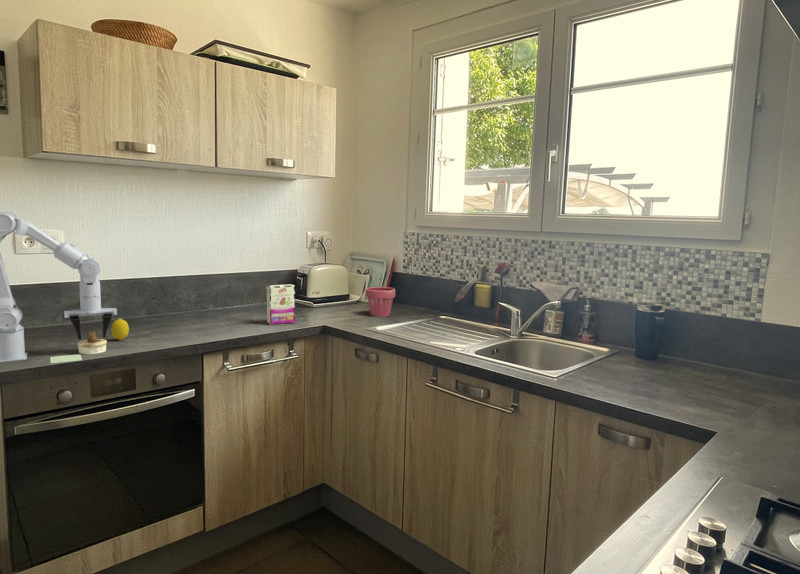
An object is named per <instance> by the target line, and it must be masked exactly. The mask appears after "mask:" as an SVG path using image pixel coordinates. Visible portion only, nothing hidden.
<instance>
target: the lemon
mask: <svg viewBox="0 0 800 574" xmlns="http://www.w3.org/2000/svg"><path fill="white" fill-rule="evenodd" d="M110 331H111V335H112V337H113V338H115V339H116V340H118V341H122V340H123V339H125V338H127V336H128V335H129V331H130V328H129V324H128V322H127V321H126V320H125V319H122V318H118V319H116V320H114V321H113V322H112V324H111V329H110Z"/></svg>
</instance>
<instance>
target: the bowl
mask: <svg viewBox="0 0 800 574" xmlns="http://www.w3.org/2000/svg"><path fill="white" fill-rule="evenodd" d="M106 351H107V344H105V345H102V346H97V347H79V346H78V354H81V355H96V354H101V353H105V352H106Z"/></svg>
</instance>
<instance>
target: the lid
mask: <svg viewBox="0 0 800 574" xmlns="http://www.w3.org/2000/svg"><path fill="white" fill-rule="evenodd" d="M86 335H87V339H84V340H83V339H82V340H79V341H78V342H77V347H78V348H79V347H97V346H102V345H105V344H106V345H107V344H108V341H107V339H104V338H98V336H97V335H98V334H97V329H96V330H95V329H92V330H87V331H86Z"/></svg>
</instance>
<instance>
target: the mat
mask: <svg viewBox="0 0 800 574" xmlns="http://www.w3.org/2000/svg"><path fill="white" fill-rule="evenodd" d="M49 360H50V361H49V362H50V364H56V363H57V364H58V363H60V364H61V363H68V362H77V361H83V359H82V354H80V353H77V354H70V355H68V354H67V355H57V356H50V359H49Z"/></svg>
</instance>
